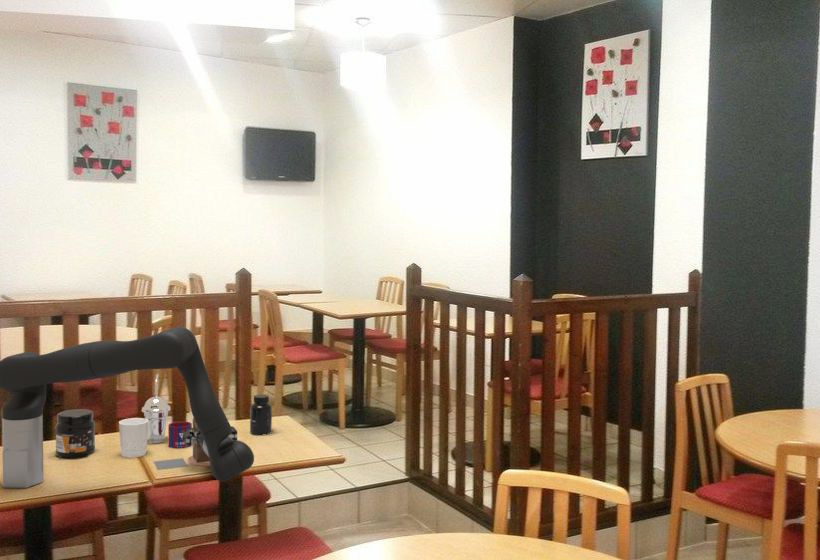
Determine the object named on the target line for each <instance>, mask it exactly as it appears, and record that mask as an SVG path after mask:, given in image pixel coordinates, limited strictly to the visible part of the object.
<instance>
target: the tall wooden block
mask: <svg viewBox="0 0 820 560" xmlns="http://www.w3.org/2000/svg"><path fill="white" fill-rule="evenodd" d="M192 428H193V429H194V430H198V429H199V428H198V426H197V424H196V422H195V420H194V417H193V418H192ZM200 434H201V433H200ZM194 437H195V434H194ZM192 456H193V457H194V459H195V460H196V462H197V463H199V462H207V461H209V457H208V456H207V454H206V453H205V452H204V451H203V449H202V448H201V446H200V444H198V443H196V442H192Z"/></svg>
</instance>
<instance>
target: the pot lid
mask: <svg viewBox="0 0 820 560" xmlns="http://www.w3.org/2000/svg"><path fill="white" fill-rule="evenodd" d="M187 463H188V464H190V465H192V466H199V467H206V466H210V461H207V462H199V463H197V462H196V460H195V459H194V457H193V455H190V456H189V457H188V458H187Z"/></svg>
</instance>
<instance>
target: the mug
mask: <svg viewBox="0 0 820 560" xmlns="http://www.w3.org/2000/svg"><path fill="white" fill-rule="evenodd" d="M189 427H192V428H193V422H191V421H173V422H171V423H169V424H168V448H171V449H186V448H189V447H192V446H193V443H192V444H191V445H189V446H188V445H186V444H185V442H184V441H183V431H187V429H189Z"/></svg>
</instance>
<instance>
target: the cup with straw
mask: <svg viewBox="0 0 820 560" xmlns="http://www.w3.org/2000/svg"><path fill="white" fill-rule="evenodd" d="M154 382H155V383H154V384H155V385H154V390H155V393H154V394H155V395H154V396H153V397H150V398H149V399H147V400H146V401H145V403H144V406H142V407H141V412H142V413H143V415H144V419H147V420H148V435H147V440H148V443H150V444H161V443H163V442H165V439H164V438H165V435H166V426H167V418H168V414H169V412H170V411H171V406H170V405H169V404H168V402H167V400H166V399H165V398H164V397H161V396H158V389H159V388H158V383H159V373H156V375H155V380H154Z"/></svg>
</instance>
